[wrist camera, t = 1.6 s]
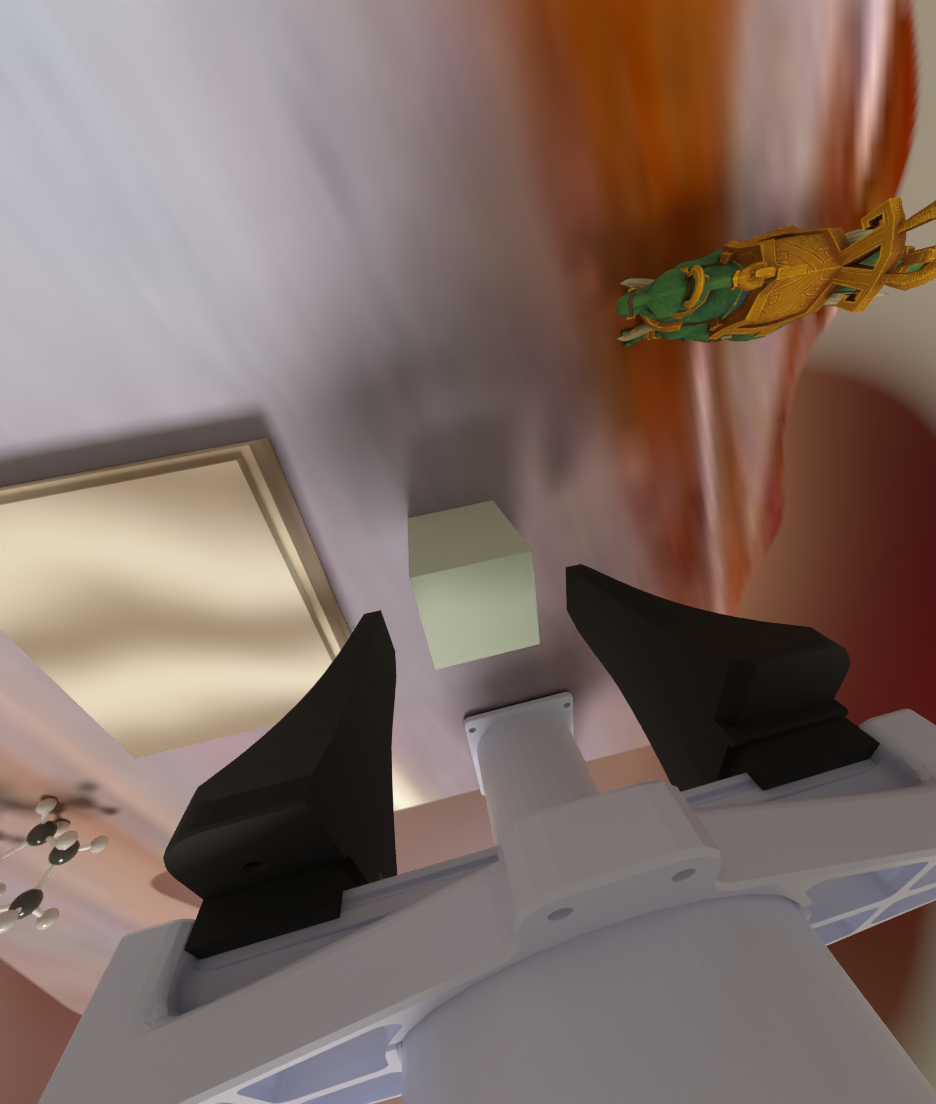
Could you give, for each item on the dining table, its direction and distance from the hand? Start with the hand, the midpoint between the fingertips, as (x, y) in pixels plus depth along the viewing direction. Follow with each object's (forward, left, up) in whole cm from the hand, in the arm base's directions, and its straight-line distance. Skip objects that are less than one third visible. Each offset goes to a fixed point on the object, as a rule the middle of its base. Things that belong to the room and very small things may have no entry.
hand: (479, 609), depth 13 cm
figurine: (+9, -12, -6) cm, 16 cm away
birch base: (0, +13, -6) cm, 14 cm away
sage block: (0, 0, -6) cm, 6 cm away
